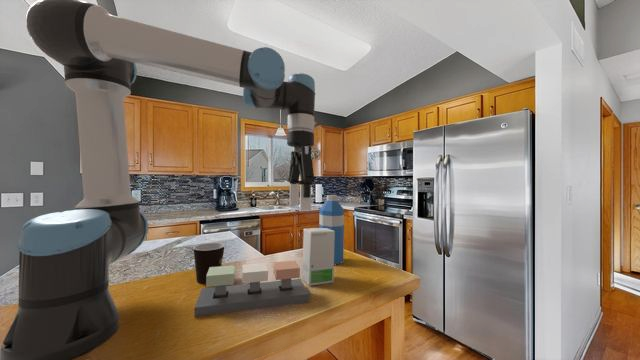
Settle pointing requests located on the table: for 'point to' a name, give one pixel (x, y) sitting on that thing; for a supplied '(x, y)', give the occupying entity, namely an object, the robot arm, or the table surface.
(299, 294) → the keypad base
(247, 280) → the key mid
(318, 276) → the skincare box
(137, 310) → the table surface
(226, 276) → the key left
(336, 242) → the water bottle
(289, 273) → the key right
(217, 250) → the coffee mug
